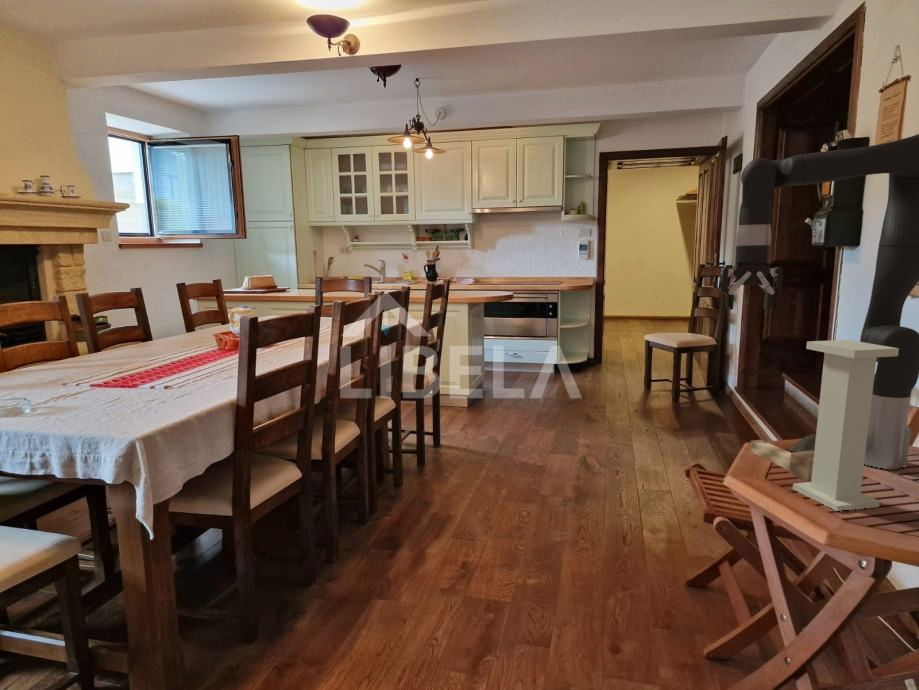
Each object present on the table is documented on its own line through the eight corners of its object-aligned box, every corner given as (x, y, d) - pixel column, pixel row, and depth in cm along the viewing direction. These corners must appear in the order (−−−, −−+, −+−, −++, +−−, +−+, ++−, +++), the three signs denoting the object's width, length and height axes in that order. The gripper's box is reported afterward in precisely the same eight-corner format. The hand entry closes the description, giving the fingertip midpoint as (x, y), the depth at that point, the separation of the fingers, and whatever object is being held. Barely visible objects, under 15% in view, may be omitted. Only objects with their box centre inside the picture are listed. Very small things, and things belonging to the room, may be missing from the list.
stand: (792, 488, 119) (807, 341, 114) (832, 484, 121) (847, 339, 116) (836, 511, 109) (854, 350, 103) (879, 506, 111) (898, 348, 106)
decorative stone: (812, 466, 133) (813, 449, 132) (783, 458, 138) (785, 442, 137) (840, 450, 143) (842, 435, 142) (813, 444, 148) (814, 428, 147)
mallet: (744, 452, 141) (746, 433, 140) (764, 450, 143) (766, 431, 142) (807, 482, 123) (809, 460, 122) (829, 479, 124) (831, 458, 124)
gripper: (727, 244, 135) (723, 311, 137) (790, 243, 133) (785, 311, 135) (717, 244, 142) (713, 308, 145) (777, 243, 140) (772, 308, 143)
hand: (748, 309), depth 140 cm, fingers open, 8 cm apart
